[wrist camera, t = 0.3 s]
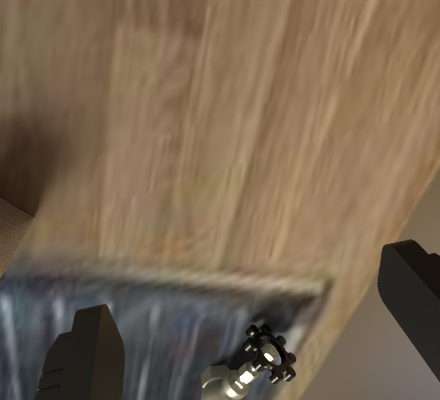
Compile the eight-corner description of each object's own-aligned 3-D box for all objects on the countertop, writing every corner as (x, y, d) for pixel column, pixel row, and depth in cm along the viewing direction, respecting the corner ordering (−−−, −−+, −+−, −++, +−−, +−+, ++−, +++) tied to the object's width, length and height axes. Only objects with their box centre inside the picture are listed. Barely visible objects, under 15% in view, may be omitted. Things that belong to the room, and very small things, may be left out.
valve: (228, 388, 47) (288, 332, 43) (236, 444, 42) (305, 387, 37) (184, 375, 45) (242, 314, 40) (186, 432, 39) (254, 369, 35)
